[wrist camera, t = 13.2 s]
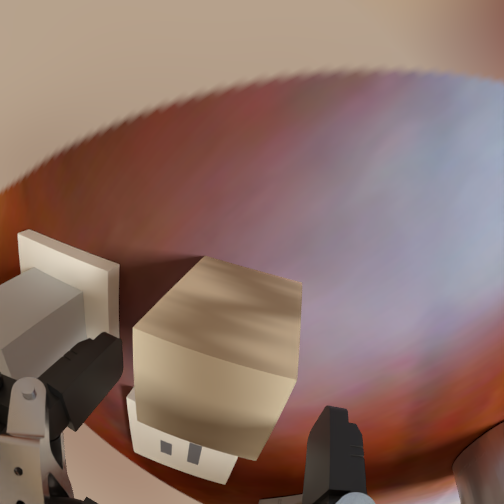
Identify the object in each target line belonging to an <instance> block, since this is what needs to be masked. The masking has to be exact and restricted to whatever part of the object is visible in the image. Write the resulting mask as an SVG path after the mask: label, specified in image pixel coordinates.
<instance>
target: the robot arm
mask: <svg viewBox="0 0 504 504" xmlns="http://www.w3.org/2000/svg"><path fill="white" fill-rule="evenodd" d="M122 372H123V351H122V341H121V339H119V338H117V337H115V336H113V335H111V334H109V333H107V332H102V333H100V334H99V335H98V336H97V337H96V338H95V339H94V340H93V339H91V338H88V339H86V340H83V341H81V342H78V343H77V344H76V345H75V346H74V347H72V348H71V349H70V351H68V352H67V353H65V354H64V356H63V357H61V358H60V359H59V360H57V361H56V362H55V363H54V364H53V365H52V366H51V367H49V368H48V369H47V370H46V371H45V372H44V373H43V374H42V375H40V376H39V377H38V378H34V377H24V378H21V379H19V380H16V379H13V378H10V377H8V376H6V375H3V374H1V372H0V504H97V503H96V502H94V501H93V500H91V499H89V498H88V497H86V498H85V500H84V501H82V500H78V499H75V498H74V494H73V490H72V487H71V483H70V481H69V478H68V475H67V469H66V460H65V450H64V437H63V430H64V429H65V428H66V427H67V426H68V427H69V428H70V429H72V430H73V431H75V432H76V431H77V430H78V428H79V427H80V426H81V425H82V424H83V423H84V421H85V420H86V419H87V418H88V416H89V415H90V414H91V413H92V412H93V410H94V409H95V408H96V407H97V406H98V404H99V403H100V402H101V401H102V400H103V398H104V397H105V396H106V395H107V394H108V392H109V391H110V390H111V389H112V388H113V386H114V385H115V384H116V383H117V382H118V380H119V379H120V377H121V375H122ZM363 456H364V451H363V440H362V434H361V432H360V430H359V429H358V427H357V425H356V424H353V423H349V422H348V411H347V409H344V408H338V407H333V406H326V407H325V408H324V410H323V412H322V413H321V415H320V416H319V418H318V420H317V421H316V423H315V424H314V426H313V428H312V429H311V432H310V434H309V437H308V443H307V455H306V467H305V477H304V487H303V496H302V504H375V502H374V501H373V500H372V498H371V497H369V496H368V495H367V491H366V476H365V463H364V458H363ZM452 470H453V474H454V477H455V481H456V485H457V489H458V493H459V497H460V502H461V504H504V422H503V423H501V424H499V425H498V426H496V427H494V428H493V429H491V430H490V431H488V432H486V433H485V434H484V435H482V436H481V437H480V438H478V439H477V440H476V441H475V442H473V443H472V444H471V445H470V446H468V447H467V448H466V449H465V450H464V451H463V452H462V453H461V454H460V455H459V456H458V457H457V459H456V460H455V462H454V464H453V466H452Z"/></svg>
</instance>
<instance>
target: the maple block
mask: <svg viewBox="0 0 504 504" xmlns="http://www.w3.org/2000/svg"><path fill="white" fill-rule="evenodd" d="M301 302H302V283H301V282H297V281H293V280H290V279H286V278H282V277H279V276H275V275H271V274H268V273H264V272H261V271H257V270H253V269H250V268H246V267H243V266H239V265H236V264H232V263H228V262H225V261H221V260H218V259H214V258H211V257H207V256H204V257H203V258H202V259H201V260H200V261H199V262H198V263H197V264H196V265H195V266H194V267H193V268H192V269H191V270H190V271H189V272H188V273H187V274H186V275H185V276H184V277H183V278H182V279H180V280H179V281H178V282H177V283H176V284H175V285H174V286H173V287H172V288H171V289H170V290H169V291H168V292H167V293H166V294H165V295H164V296H163V297H162V298H161V299H160V300H159V301H158V302H157V303H156V304H155V305H154V306H153V307H152V308H151V309H150V310H149V311H148V312H147V313H146V314H145V315H144V317H143V318H142V319H141V320H140V321H139V322H138V323H137V324H136V325H135V326H134V327H133V368H134V388H135V402H136V414H137V421H139V422H141V423H143V424H145V425H148V426H150V427H152V428H155V429H157V430H159V431H162V432H164V433H167V434H170V435H172V436H175V437H177V438H180V439H183V440H186V441H188V442H191V443H194V444H197V445H200V446H203V447H206V448H210V449H213V450H216V451H220V452H223V453H227V454H230V455H234V456H238V457H242V458H246V459H250V460H254V461H256V460H257V458H258V456H259V455H260V453H261V451H262V449H263V447H264V445H265V443H266V442H267V440H268V438H269V436H270V434H271V432H272V430H273V428H274V426H275V424H276V422H277V420H278V418H279V416H280V414H281V412H282V410H283V408H284V406H285V404H286V402H287V400H288V398H289V396H290V394H291V392H292V390H293V388H294V385H295V383H296V381H297V374H298V359H299V343H300V324H301Z"/></svg>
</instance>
